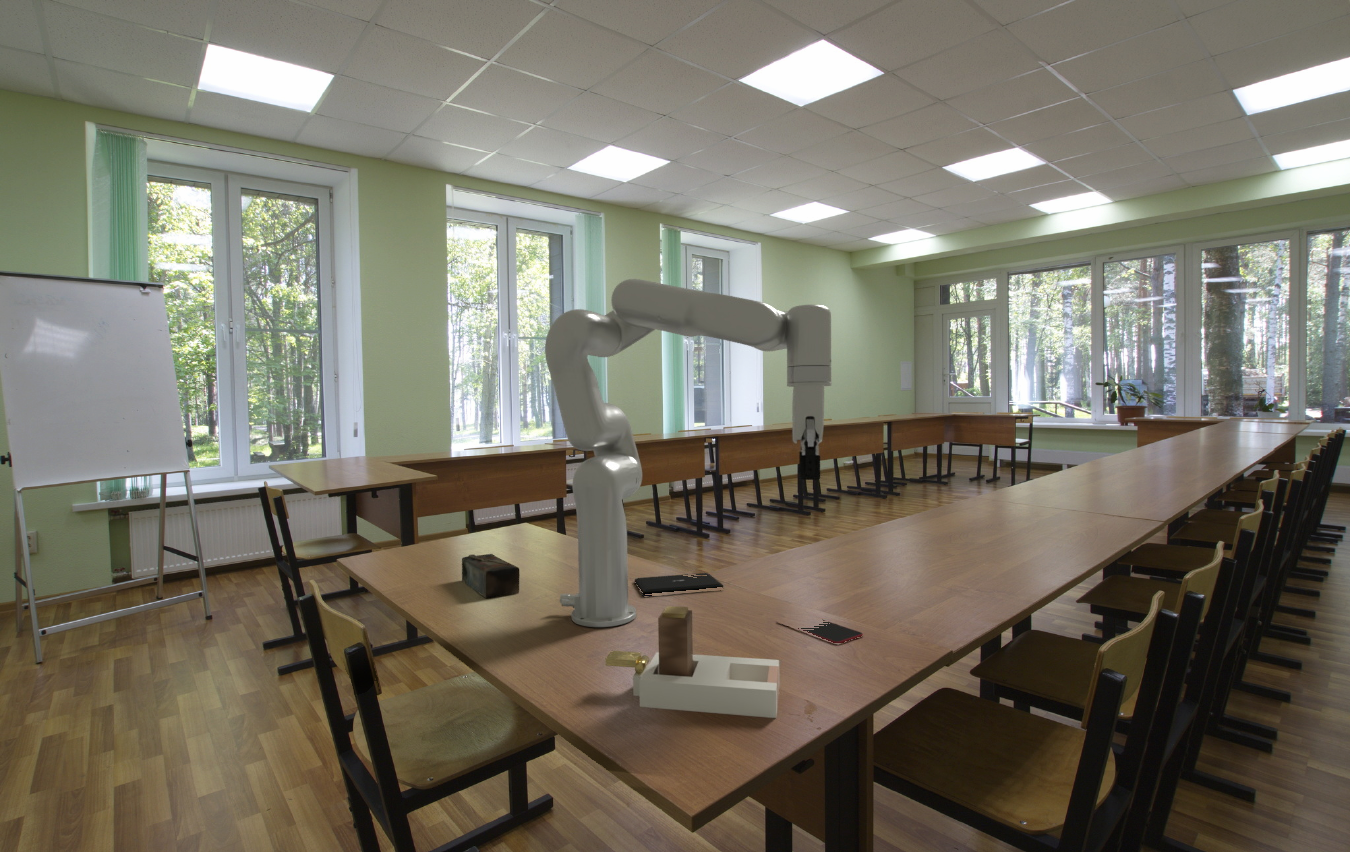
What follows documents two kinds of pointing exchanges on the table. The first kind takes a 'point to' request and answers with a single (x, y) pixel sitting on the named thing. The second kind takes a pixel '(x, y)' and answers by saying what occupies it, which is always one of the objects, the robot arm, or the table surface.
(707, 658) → the white socket holder
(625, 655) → the latch tab
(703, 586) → the laptop
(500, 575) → the beverage carton
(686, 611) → the plug
